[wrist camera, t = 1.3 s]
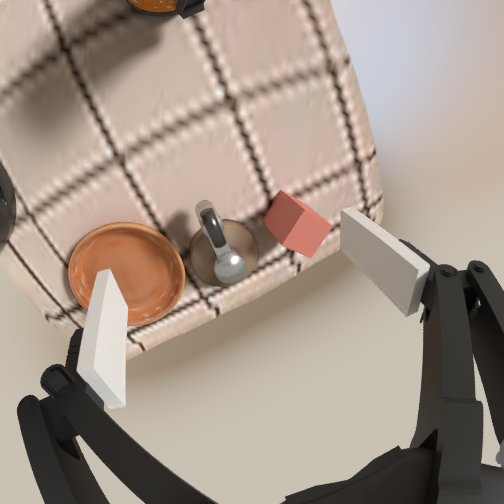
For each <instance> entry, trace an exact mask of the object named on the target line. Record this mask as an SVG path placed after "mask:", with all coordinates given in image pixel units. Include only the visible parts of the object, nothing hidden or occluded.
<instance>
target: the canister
mask: <svg viewBox="0 0 504 504" xmlns="http://www.w3.org/2000/svg"><path fill="white" fill-rule="evenodd" d="M127 1H128V3H129V4H130V6H131V7H132V8H134V9H135V10H137V11H138V12H140V13H143V14H146V15H150V16H168V15H172V14H176V13H178V14H179V15H180V16H181V17H182V18H183V19H185V18H187V17H190V16H192V15H194V14H196V13H199V12H201V11H203V10H205V9H204V2H205V0H127Z"/></svg>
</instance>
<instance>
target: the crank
mask: <svg viewBox="0 0 504 504" xmlns="http://www.w3.org/2000/svg"><path fill="white" fill-rule="evenodd" d="M195 212H196V214H197V217H198V220H199V222H200V225H201V228H202V230H203V233H204V234H205V236H207V237H209V239H210V242H211V244H212V246H213V248H214V250H215V254H214V255H213V257H212V265H213V268H214V271H215V273H216V276H217V278H218V279H219V280H220V281H222V282H224V283H234V282H236V281H238V280H240V279H241V278H242V277H243V276H244V275H245V273H246V271H247V264H246V262H245V260H244V258H243V256H242V255H241V253H240V251H239V250H238V249H237V248H235V247H231V246H229V245H228V242H227V240H226V237H225V235H224V233H223V231H224V224H223V222H222V220H221V218H220V216H219V214H218V213H217V211H216V209H215V207H214V205H213V204H212V202H210V201H208V200H203V201H200V202H199V203H198V204H197V205H196V208H195Z"/></svg>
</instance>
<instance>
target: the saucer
mask: <svg viewBox="0 0 504 504" xmlns="http://www.w3.org/2000/svg"><path fill="white" fill-rule="evenodd" d="M106 269H111V272H112V274H113V276H114V278H115V281H116V283H117V285H118V287H119V289H120V292H121V294H122V296H123V298H124V300H125V302H126V304H127V306H128V318H127V326H140V325H145V324H148V323H151V322H154V321H156V320H158V319H160V318H162V317H163V316H165V315H166V314H167V313H168V312H170V311H171V310H172V309H173V308H174V306H175V305H176V304H177V302H178V301H179V299H180V297H181V295H182V292H183V289H184V285H185V269H184V265H183V262H182V259H181V257H180V255H179V253H178V252H177V250H176V248H175V247H174V246H173V244H172V243H171V242H170V241H169V240H168V239H167V238H166V237H165V236H163V235H162V234H161V233H159V232H158V231H156V230H154V229H152V228H150V227H148V226H145V225H142V224H138V223H132V222H117V223H111V224H107V225H104V226H101V227H99V228H96V229H94V230H93V231H91V232H90V233H88V234H87V235H86V236H85V237H84V238H83V239H82V240H81V241H80V242H79V243H78V245H77V246H76V248H75V249H74V251H73V253H72V255H71V258H70V261H69V267H68V278H69V283H70V287H71V290H72V292H73V294H74V296H75V298H76V299H77V301H78V302H79V303H80V304H81V306H82V307H83V308H84V309H85V310H87V311H88V308H89V303H90V299H91V295H92V291H93V287H94V283H95V280H96V276H97V272H99V271H103V270H106Z"/></svg>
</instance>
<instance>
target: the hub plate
mask: <svg viewBox="0 0 504 504" xmlns="http://www.w3.org/2000/svg"><path fill="white" fill-rule="evenodd" d="M222 222H223V224H224V231H223V233H224V235H225V237H226V240H227V242H228V245H229V246H231V247H235V248H237V249H238V250H239V251H240V253H241V255H242V256H243V258H244V260H245V262H246V264H247V271H246V273H245V275H244V276H243V277H242V278H241V279H240V280H238V281H236V282H234V283H224V282H222V281H220V280H219V279H218V278H217V276H216V273H215V271H214V268H213V265H212V257H213V255H214V254H215V250H214V248H213V246H212V244H211V242H210V239H209V237H207V236H205V234H204V233H203V230H202V228H201V229H200V230H199V231H198V232H197V233H196V234H195V236H194V237H193V239H192V242H191V245H190V258H191V262H192V266H193V269H194V272H195V274H196V275H197V276H198V278H199V279H200V280H202V281H203V282H205V283H207V284H209V285H212V286H218V287H224V286H230V285H233V284H236V283H238V282H240V281H242V280H243V279H245V278H246V277H247V276H248V275H249V274H250V273H251V272H252V271H253V269H254V268H255V266H256V264H257V261H258V257H259V249H258V245H257V242H256V240H255V239H254V237H253V236H252V234H251V233H250V232H249V230H248V229H247V228H246V227H245V226H244V225H243V224H241V223H239V222H237V221H234V220H228V219H222Z"/></svg>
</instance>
